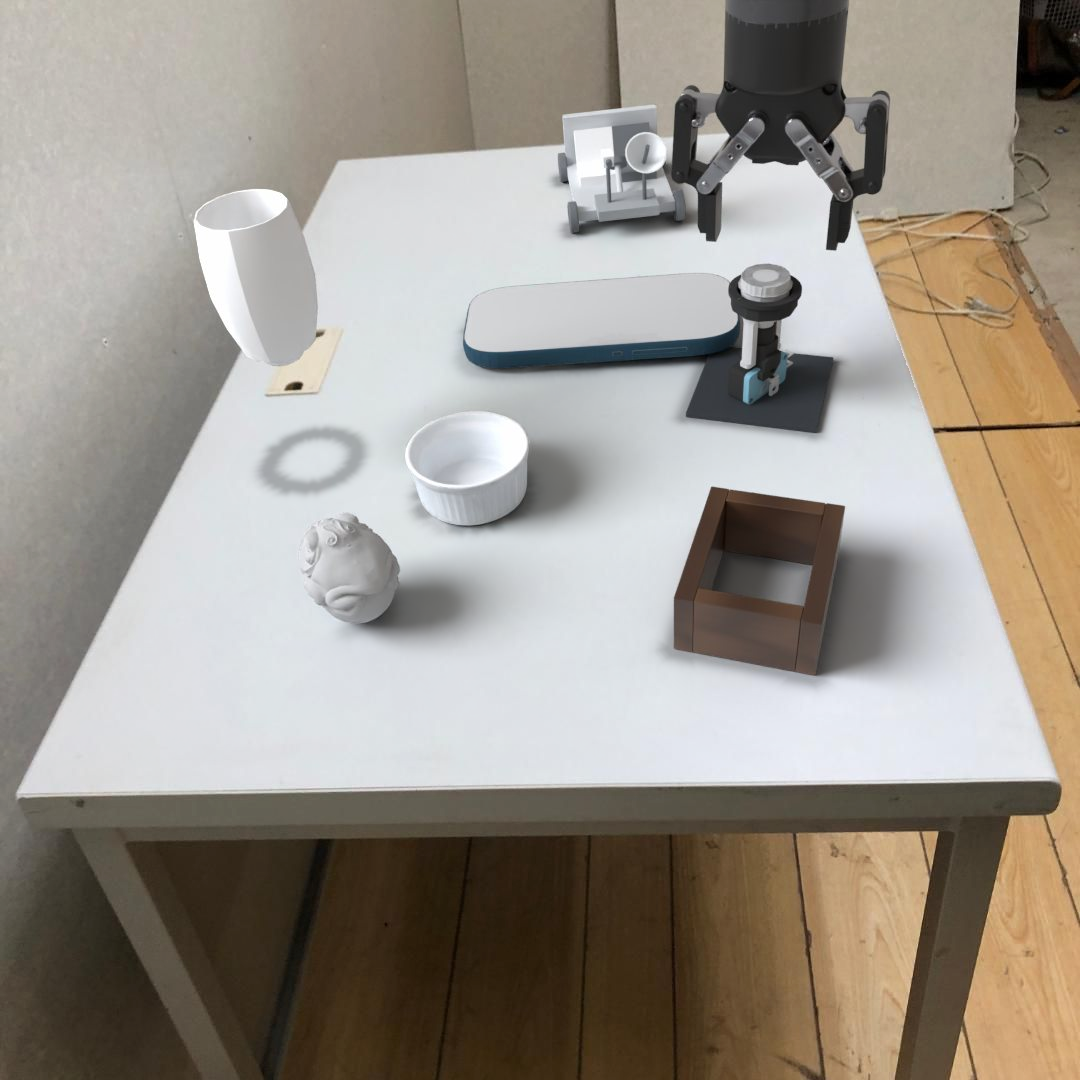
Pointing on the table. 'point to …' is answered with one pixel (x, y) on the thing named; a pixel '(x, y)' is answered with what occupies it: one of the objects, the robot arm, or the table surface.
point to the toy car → (616, 166)
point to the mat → (783, 409)
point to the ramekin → (469, 466)
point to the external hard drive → (600, 321)
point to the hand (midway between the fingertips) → (772, 241)
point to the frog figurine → (348, 568)
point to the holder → (753, 622)
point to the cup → (259, 273)
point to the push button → (761, 329)
